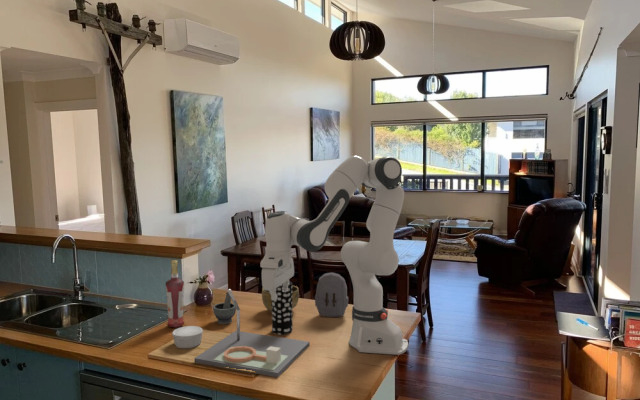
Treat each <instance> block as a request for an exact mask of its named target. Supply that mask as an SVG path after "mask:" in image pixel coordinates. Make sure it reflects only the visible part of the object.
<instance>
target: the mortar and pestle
mask: <svg viewBox="0 0 640 400" xmlns="http://www.w3.org/2000/svg"><path fill="white" fill-rule="evenodd" d="M232 294H233V292H232ZM233 295H234V294H233ZM212 312H213V314H214V316H215V318H216V319H217V321H216V322H217V323H218V324H220V325H228V324H230V323H232V322H233V319H232V318H233V317H234V316H235V315H236V313H237V310H236V307H235V305H234V303H233V302H232V299H231V297H230V295H229V293H228V291H226V292H225V299H224V302H219V303H216V304H214V305H213V306H212Z"/></svg>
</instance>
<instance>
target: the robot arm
mask: <svg viewBox="0 0 640 400" xmlns="http://www.w3.org/2000/svg"><path fill="white" fill-rule="evenodd" d="M402 175H403V169H402V164H401V162H400V160H398V159H397V158H395V157H393V156H382V157H378V158H377V157H376V158H375V159H371V160H369V161H366V160H365V159H364V158H363V157H362V156H359V155H350V156H349V157H347V158H346V159H344V161H342V163H340V164H339V165H338V166H337V167H336V168H335V169H334V170H333V171H332V173H330V175H329V176H328V178H327V179H326V181H325V183H324V192H325V194H326V196H327V197H328V202H327V204H325V206H324V207H323V209H321V212H320V213H319V214H318V216H317V217H316V218H314V219H313V220H308V219H304V218H300V217H297V216H295V215H292V214H290V213H289V212H287V211H285V210H280V211H274V212H271V213H269V214H268V215H267V216H266V219H265V224H264V225H265V226H264V227H265V228H264V235H265V236H264V238H265V242H266V247H265V254H264V256H263V258H262V259H261V261H260V268H262V269H261V286H262V289H264V290H267V291H269V292H270V294H271V300H277V298H278V297H277V294H276V288H277V287H279V286H280V285H281V284H283V287H282V292H287V291H288V285H289V281H290V279H291V278H292V277H294V276H295V265H294V258H293V257H292V246H297V247H299V248H302V249H303V250H305V251H307V252H311V253H313V252H316V251H319V250H321V249H322V248H323V247H324V245H325V244H326V242H327V240H328V237H329V234H330V232H331V230H332V228H333V227H334V226H335V224H336V222H337V221H338V220H339V218H340V217H341V216H342V214H343V213H344V211H345V210H346V208H347V206H348V204H349V202H350V200H351V197H352V196H353V195H354V194H355V192H356V191H357V190H358V188H360V186H361V185H362V186H363V187H365V188H368V189H375V199H374V202H373V203H372V205H371V209H370V211H369V214H368V217H367V219H366V224H365V225H366V229H367V230H368V231H369V232H370V233H369V234H370V235H369V242H367V241H362V240H349V241H347V242H346V243H344V244H343V245H342V248H341V249H340V258H341V261H342V263H344V265H345V266H346V269H347V271H348V272H349V275H350V279H351V283H352V290H353V294H352V295H353V306H352V309H351V320H352V327H351V332H350V336H349V337H350V338H349V341H348V343H349V345H350V346H351V347H353V348H354V349H356V350H357V351H358V352H359V353H367V354H368V353H369V354H382V355H383V354H384V355H395V356H398V355H402V354H404V353H405V352H407V351H408V349H409V342H408V340H407V339H406V338H403V333H402V330H401V327H400V326H398V325H397V324H396V323H395V322H393V320H391V319H390V318H389V316H388V314H389V309H388V308H385V307H383V305H384V304H383V302H384V298H383V296H384V293H383V292H384V291H383V286H382V284H381V283H380V282H379V280H378V279H377V276H391V275H392V274H394V273H395V271H396V270H397V269H398V266H399V262H400V261H399V255H398V253H397V251H396V250H395V246H394V235H395V231H396V227H397V224H398V221H399V219H400V216H401V212H402V210H403V205H404V201H405V200H404V199H405V190H404V188H403V187H401V186H400V185H401V183H402Z"/></svg>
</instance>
